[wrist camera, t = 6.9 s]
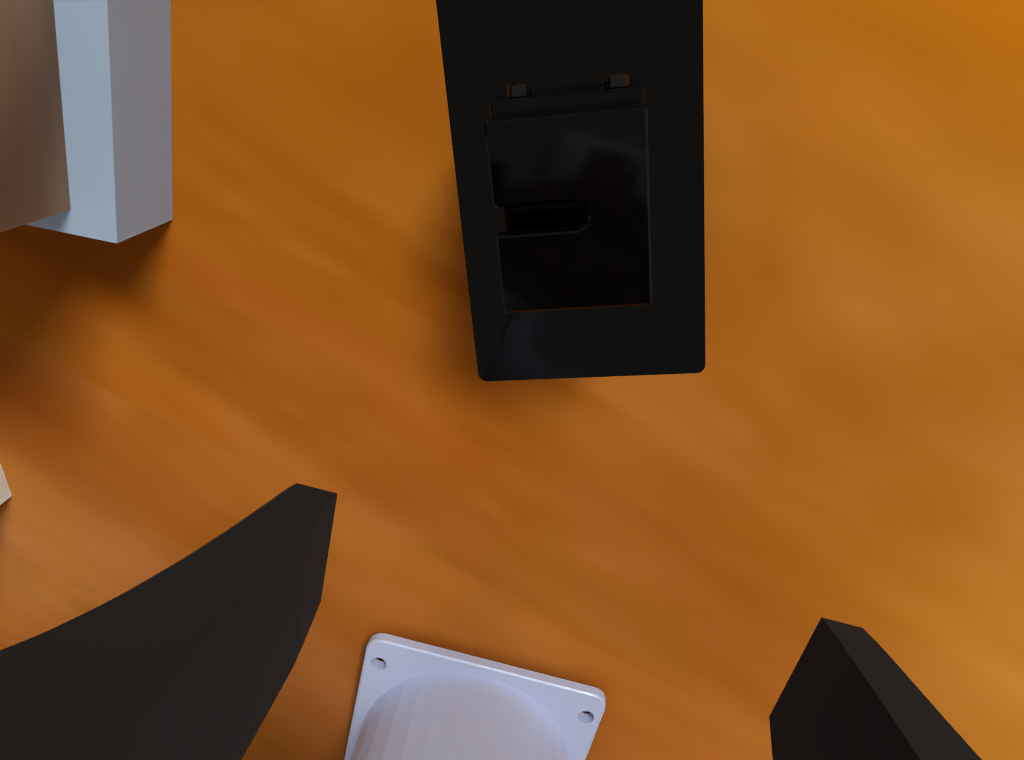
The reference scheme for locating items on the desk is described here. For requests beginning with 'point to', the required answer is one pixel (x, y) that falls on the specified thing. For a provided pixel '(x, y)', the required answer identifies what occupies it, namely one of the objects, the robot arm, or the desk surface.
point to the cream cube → (3, 487)
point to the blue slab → (115, 116)
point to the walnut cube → (30, 116)
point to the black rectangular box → (579, 183)
